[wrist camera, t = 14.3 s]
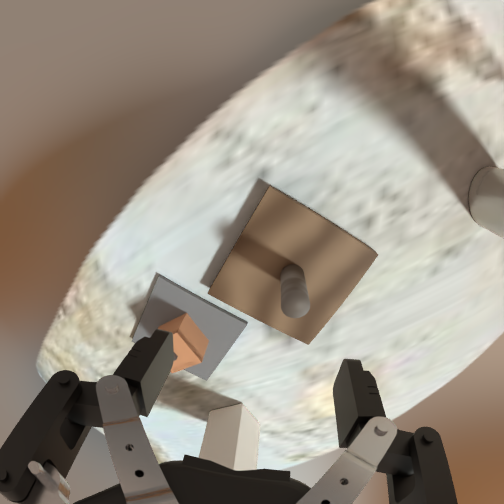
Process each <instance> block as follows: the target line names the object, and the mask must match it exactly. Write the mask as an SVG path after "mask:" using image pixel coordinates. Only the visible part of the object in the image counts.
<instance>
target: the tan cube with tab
mask: <svg viewBox="0 0 504 504" xmlns="http://www.w3.org/2000/svg"><path fill="white" fill-rule="evenodd" d="M158 329H160V330H165V331H169V332H172V333H173V348H174V361H173V366H172V368H171V371H170V372H171V373H174V372H177V371H180V370H183V369H186V368H188V367H191V366H194V365H196V364H199V363H202V361H203V358H204V355H205V352H206V349H207V346H208V342H209V340H208V339H207V338H206V336H205V335H204V334H203V333H202V331H201V330H200V329H199V328H198V326H197V325H196V324H195V323H194V321H193V320H192V319H191V317H190V316H189V315H188V314H187V313H185V314H183V315H181V316H179V317H177V318H175V319H173V320H171V321H169V322H167V323H165V324H163V325H161V326H159V327H158Z"/></svg>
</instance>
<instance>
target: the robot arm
mask: <svg viewBox="0 0 504 504" xmlns="http://www.w3.org/2000/svg"><path fill="white" fill-rule="evenodd" d="M469 207H470V212H471V215H472V217H473V219H474V220H475V222H476V223H477V224H478V225H480V226H482V227H484V228H485V229H487V230H489V231H491V232H493V233H495V234H496V235H498V236H500V237H502V238H504V169H500V168H496V167H485V168H483V169H481V170H480V171H479V172H478V173H477V174H476V176H475V177H474V179H473V181H472V183H471V187H470V191H469ZM173 361H174V348H173V333H172V332H169V331H165V330H160V329H156V330H155V331H154V333H153V334H152V336H151V337H150V338H149V337H143V338H141V339H140V340H138V341H137V342H136V343H135V344H134V346H133V347H132V349H131V350H130V351H129V353H128V355H126V357H125V358H124V360H123V361H122V362H121V364H120V365H119V367H118V368H117V370H116V371H115V372H114V374H113V375H108V376H105V377H102V378H101V379H100V380H99V381H98V382H87V381H79V378H78V376H77V374H75V373H74V372H72V371H68V370H63V371H59V372H57V373H55V374H54V375H53V376H52V377H51V378H50V380H49V381H48V382H47V384H46V385H45V386H44V388H43V389H42V390H41V392H40V393H39V395H38V396H37V397H36V398H35V400H34V401H33V403H32V404H31V405H30V407H29V408H28V409H27V411H26V412H25V413H24V415H23V416H22V418H21V419H20V421H19V422H18V423H17V425H16V426H15V428H14V429H13V431H12V432H11V434H10V435H9V437H8V438H7V440H6V441H5V443H4V444H3V446H2V447H1V449H0V493H1V494H2V495H3V496H4V497H5V498H6V499H7V500H8V501H9V502H11V503H12V504H69V495H70V487H69V484H68V482H67V481H66V480H65V478H66V476H67V474H68V472H69V470H70V468H71V466H72V464H73V462H74V460H75V458H76V456H77V454H78V452H79V450H80V448H81V446H82V444H83V442H84V440H85V438H86V437H87V435H88V433H89V431H90V429H91V427H92V426H93V427H102V428H103V429H104V433H105V437H106V440H107V444H108V447H109V451H110V454H111V458H112V461H113V464H114V467H115V470H116V473H117V476H118V479H119V482H120V483H119V484H117V485H115V486H113V487H110V488H108V489H106V490H104V491H102V492H99V493H97V494H94V495H92V496H89V497H87V498H84V499H82V500H79V501H77V502H75V503H73V504H352V503H353V502H354V500H355V499H356V498H357V497H358V495H359V494H360V492H361V491H362V490H363V488H364V487H365V486H366V484H367V483H368V481H369V480H370V479H371V477H372V476H373V474H374V473H375V471H377V472H382V473H386V475H387V484H388V494H389V504H458V503H457V499H456V494H455V489H454V485H453V481H452V477H451V473H450V469H449V465H448V461H447V458H446V454H445V451H444V447H443V444H442V440H441V437H440V435H439V433H438V432H437V431H436V430H434V429H432V428H430V427H421V428H419V429H417V430H416V431H415V433H410V432H405V431H401V430H398V429H397V428H396V425H395V424H394V423H393V422H392V421H391V420H390V419H388V418H386V415H385V411H384V408H383V404H382V401H381V397H380V395H379V390H378V388H377V384H376V380H375V378H374V377H373V376H372V374H371V373H370V372H369V371H363V368H362V364H361V361H360V360H354V359H344V360H343V362H342V364H341V367H340V370H339V372H338V375H337V377H336V380H335V382H334V387H333V397H334V405H335V413H336V422H337V431H338V440H339V448H347V450H345V451H344V452H343V454H342V455H341V456H340V457H339V458H338V459H337V461H336V462H335V463H334V464H333V465H332V466H331V468H330V469H329V470H328V471H327V472H326V473H325V474H324V475H323V476H322V478H321V479H320V480H319V481H318V482H317V483H316V484H315V485H314V486H313V487H312V488H310V487H308V486H307V485H306V484H304V483H302V482H300V481H298V480H295V479H292V478H290V471H281V470H270V469H257V470H243V471H236V470H233V469H230V468H228V467H225V466H223V465H220V464H218V463H215V462H213V461H211V460H206V459H202V458H197V457H193V456H189V455H184V458H183V461H169V462H164V463H160V464H158V461H157V459H156V457H155V455H154V452H153V450H152V448H151V445H150V443H149V440H148V438H147V435H146V433H145V430H144V428H143V425H142V422H141V420H140V418H139V415H142V416H146V417H148V415H149V413H150V411H151V409H152V407H153V405H154V403H155V401H156V399H157V397H158V395H159V393H160V391H161V389H162V387H163V385H164V383H165V381H166V379H167V377H168V375H169V373H170V371H171V368H172V366H173Z"/></svg>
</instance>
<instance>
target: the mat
mask: <svg viewBox="0 0 504 504" xmlns="http://www.w3.org/2000/svg"><path fill="white" fill-rule="evenodd" d="M185 313H187V314H188V315H189V316H190V317H191V319H192V320H193V321H194V323H195V324H196V325H197V326H198V328H199V329H200V330H201V331H202V333H203V334H204V335H205V336H206V338H207V339H208V340H209V342H208V346H207V349H206V352H205V355H204V358H203V361H202V363H199V364H196V365H194V366H191V367H188V368H186V369H184V370H186V371H188V372H190V373H192V374H194V375H196V376H198V377H200V378H202V379H204V380H206V381H207V380H208V378H209V377H210V375H211V374H212V373H213V371H214V370H215V369H216V367H217V366H218V364H219V363H220V362H221V360H222V359H223V358H224V356H225V355H226V353H227V352H228V351H229V349H230V348H231V346H232V345H233V344H234V342H235V341H236V339H237V338H238V337H239V335H240V334H241V332H242V331H243V330H244V328H245V327H246V325H247V322H246V321H245V320H243V319H241V318H239V317H237V316H235V315H233V314H231V313H229V312H227V311H225V310H223V309H221V308H219V307H218V306H216V305H214V304H212V303H210V302H208V301H206V300H205V299H203V298H201V297H199V296H197V295H195V294H193V293H192V292H190V291H188V290H186V289H184V288H183V287H181V286H179V285H177V284H176V283H174V282H172V281H170V280H168V279H167V278H165V277H163V276H161V275H159V277H158V279H157V281H156V284H155V286H154V288H153V291H152V293H151V295H150V298H149V300H148V302H147V305H146V307H145V310H144V312H143V314H142V317H141V319H140V322H139V324H138V327H137V329H136V332H135V334H134V337H133V339H132V342H134V343H136V342H137V341H138V340H140V339H141V338H143V337H149V338H150V337H151V336H152V334H153V333H154V331H155V330H156V329H158V327H159V326H161V325H163V324H165V323H167V322H169V321H171V320H173V319H175V318H177V317H179V316H181V315H183V314H185Z"/></svg>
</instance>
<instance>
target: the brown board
mask: <svg viewBox="0 0 504 504" xmlns="http://www.w3.org/2000/svg"><path fill="white" fill-rule="evenodd" d="M377 256H378V254H377V253H376V251H375V250H373V249H372V248H370V247H369V246H367V245H366V244H364V243H363V242H361V241H360V240H358V239H356V238H355V237H353V236H352V235H350V234H349V233H347V232H346V231H344V230H343V229H341V228H339V227H338V226H336V225H335V224H333V223H332V222H330V221H328V220H327V219H325V218H324V217H322V216H320V215H319V214H317V213H316V212H314V211H312V210H311V209H309V208H307V207H306V206H304V205H303V204H301V203H299V202H298V201H296V200H294V199H293V198H291V197H289V196H287V195H286V194H284V193H282V192H281V191H279V190H277V189H276V188H274V187H272V186H269V187H268V189H267V191H266V192H265V194H264V196H263V198H262V199H261V201H260V203H259V204H258V206H257V208H256V209H255V211H254V213H253V214H252V216H251V218H250V220H249V221H248V223H247V225H246V226H245V228H244V230H243V232H242V233H241V235H240V237H239V238H238V240H237V242H236V244H235V245H234V247H233V249H232V251H231V252H230V254H229V256H228V258H227V259H226V261H225V263H224V264H223V266H222V268H221V270H220V271H219V273H218V275H217V277H216V278H215V280H214V282H213V284H212V285H211V287H210V289H209V291H208V294H209V295H211V296H213V297H215V298H217V299H219V300H220V301H222V302H224V303H226V304H228V305H230V306H232V307H234V308H236V309H238V310H239V311H241V312H243V313H245V314H247V315H249V316H251V317H253V318H255V319H257V320H259V321H261V322H263V323H265V324H267V325H269V326H271V327H273V328H275V329H277V330H279V331H281V332H283V333H285V334H287V335H289V336H291V337H293V338H295V339H297V340H300V341H302V342H304V343H306V344H308V345H309V344H310V342H311V341H312V340H313V339H314V338H315V336H316V335H317V334H318V333H319V332H320V330H321V329H322V328H323V327H324V326H325V324H326V323H327V322H328V321H329V320H330V318H331V317H332V316H333V315H334V313H335V312H336V311H337V310H338V308H339V307H340V306H341V304H342V303H343V302H344V301H345V299H346V298H347V297H348V295H349V294H350V293H351V292H352V290H353V289H354V288H355V286H356V285H357V284H358V282H359V281H360V280H361V278H362V277H363V275H364V274H365V273H366V271H367V270H368V269H369V267H370V266H371V264H372V263H373V262H374V260H375V259H376V257H377Z"/></svg>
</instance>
